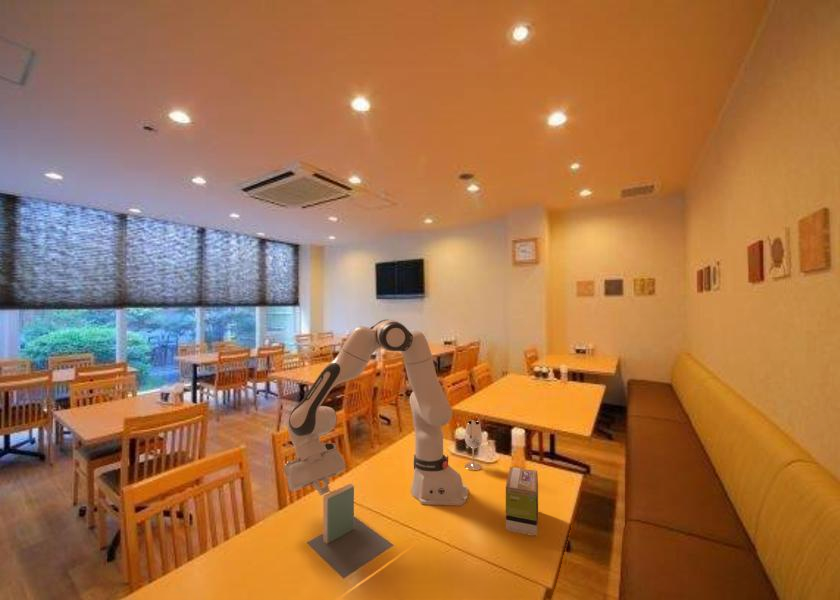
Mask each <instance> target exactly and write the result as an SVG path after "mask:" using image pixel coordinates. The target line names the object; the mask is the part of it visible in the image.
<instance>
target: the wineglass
mask: <svg viewBox="0 0 840 600" xmlns="http://www.w3.org/2000/svg"><path fill="white" fill-rule="evenodd" d="M464 442H465V444H466V445H467V446H468V447H469V448H471V452H472V460H471V461H472V462H467V463H465V464H466V465H465V464H464V467H466V468H465V469H467V470H468V469H470V470H469V471H472V470H477V471H480V470H481V469H482V464H480V463H479V462H475V449H477V448H479V447H480V446H481V444H482V443H483V433H482V428H481V423H480V422H479V421H478V420H467V423H466V427H465V432H464ZM479 469H480V470H479Z"/></svg>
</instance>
